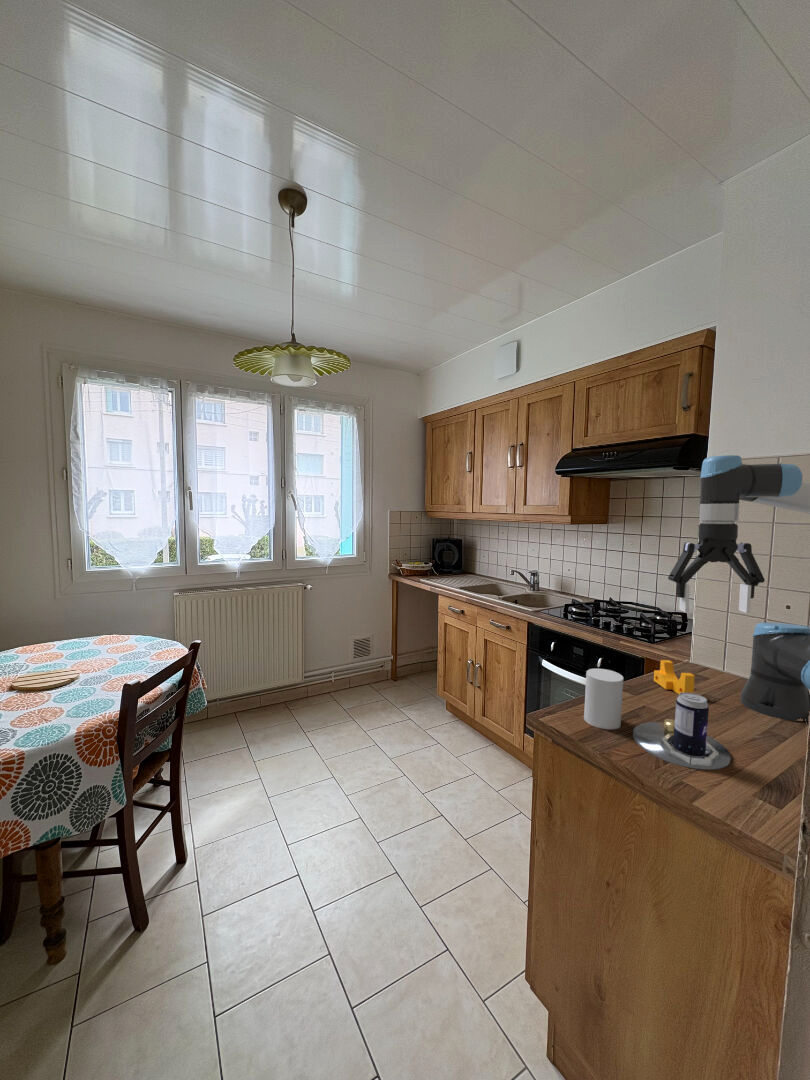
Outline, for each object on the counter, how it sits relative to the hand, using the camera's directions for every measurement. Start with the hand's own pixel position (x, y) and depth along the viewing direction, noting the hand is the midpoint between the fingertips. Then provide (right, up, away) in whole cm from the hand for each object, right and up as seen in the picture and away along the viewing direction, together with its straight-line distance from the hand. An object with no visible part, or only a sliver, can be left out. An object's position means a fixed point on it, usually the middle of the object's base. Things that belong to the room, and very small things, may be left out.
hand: (713, 611), depth 105 cm
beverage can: (-14, -28, -13) cm, 34 cm away
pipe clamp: (+4, -27, +23) cm, 36 cm away
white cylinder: (-26, -28, +2) cm, 38 cm away
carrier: (-14, -29, -9) cm, 33 cm away
